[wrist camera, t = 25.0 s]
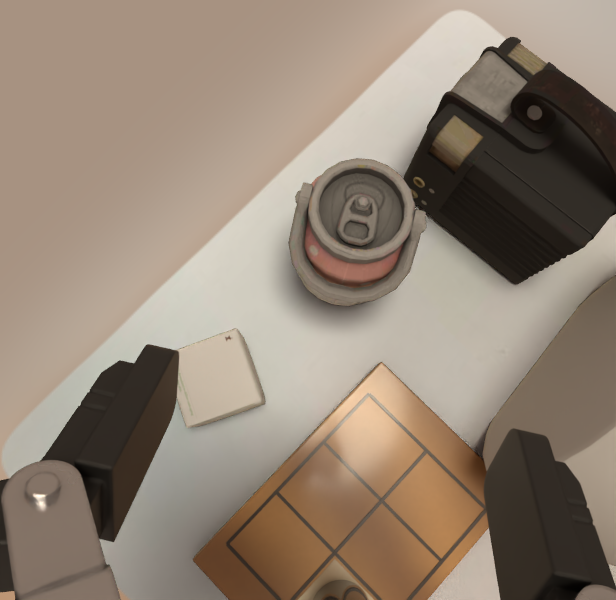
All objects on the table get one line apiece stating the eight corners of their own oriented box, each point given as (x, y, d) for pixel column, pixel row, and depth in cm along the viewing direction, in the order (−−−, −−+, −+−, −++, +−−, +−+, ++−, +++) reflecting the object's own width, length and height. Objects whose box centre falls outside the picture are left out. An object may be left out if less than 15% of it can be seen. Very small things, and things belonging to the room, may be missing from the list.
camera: (464, 100, 49) (538, -33, 34) (591, 198, 48) (726, 103, 33) (387, 187, 47) (431, 85, 33) (517, 292, 46) (625, 235, 31)
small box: (175, 359, 44) (161, 352, 39) (244, 335, 44) (238, 325, 40) (197, 429, 43) (185, 431, 38) (267, 403, 43) (265, 402, 39)
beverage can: (380, 332, 45) (412, 304, 33) (278, 307, 45) (274, 271, 33) (402, 225, 47) (441, 163, 35) (305, 202, 47) (310, 132, 35)
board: (330, 703, 39) (332, 712, 38) (194, 555, 41) (191, 560, 40) (511, 491, 43) (518, 493, 41) (379, 362, 44) (381, 361, 43)
